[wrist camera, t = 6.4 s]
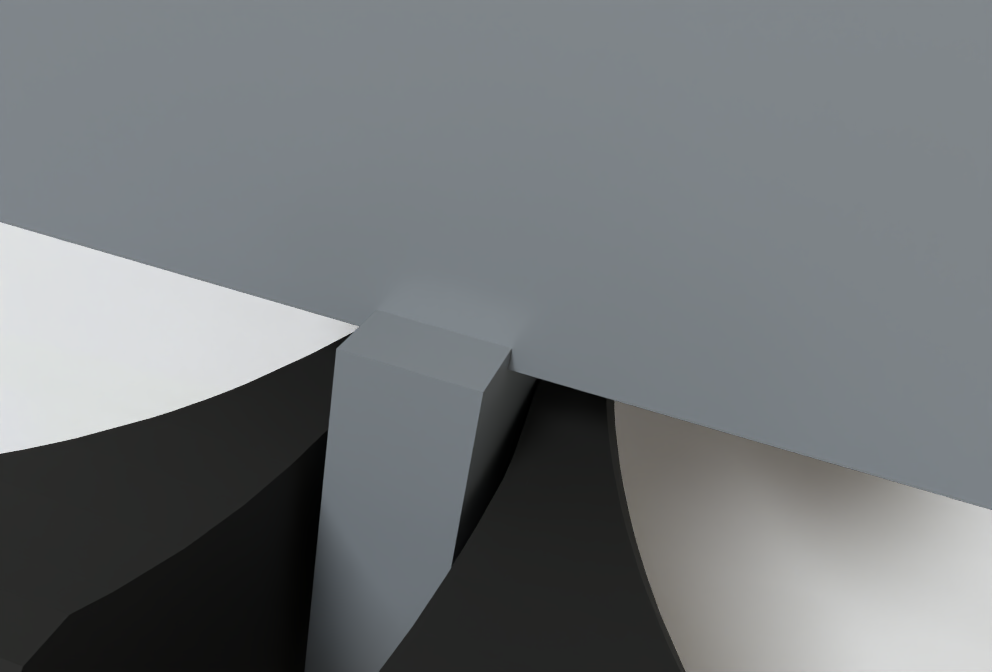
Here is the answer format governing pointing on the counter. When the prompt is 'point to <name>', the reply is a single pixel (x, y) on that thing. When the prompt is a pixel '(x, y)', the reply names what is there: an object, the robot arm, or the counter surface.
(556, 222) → the grey blocky piece
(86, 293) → the counter surface
